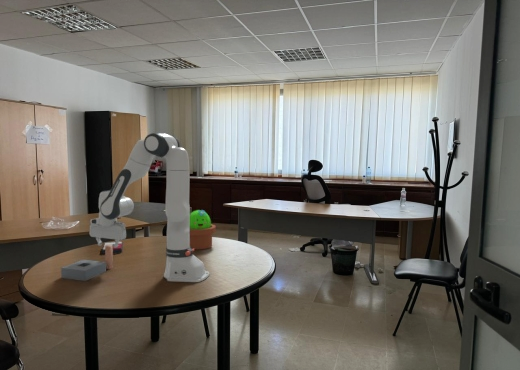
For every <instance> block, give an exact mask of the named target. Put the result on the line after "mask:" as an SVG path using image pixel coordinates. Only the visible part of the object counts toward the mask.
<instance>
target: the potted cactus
mask: <svg viewBox="0 0 520 370" xmlns="http://www.w3.org/2000/svg"><path fill="white" fill-rule="evenodd" d="M215 233H216V225H215V224H212V220H211V218H210V215H208V213H207V212H206V211H205V210H203V209H201V210H200V209H196V210H193V211H192V212H190V231H189V234H190V247H191V249H194V251H195V250H206V249H210V248H212V246H213V235H214V234H215Z"/></svg>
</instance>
